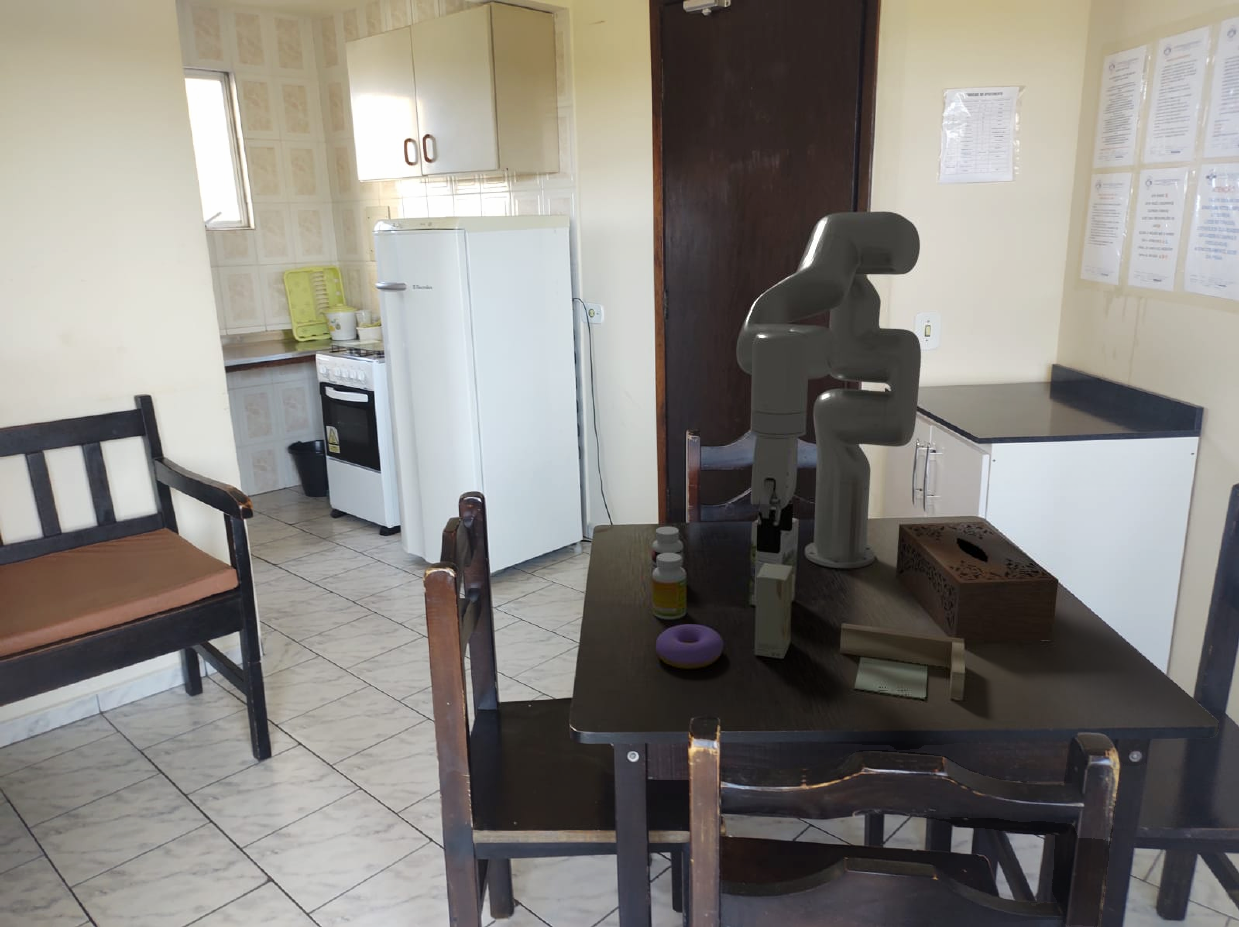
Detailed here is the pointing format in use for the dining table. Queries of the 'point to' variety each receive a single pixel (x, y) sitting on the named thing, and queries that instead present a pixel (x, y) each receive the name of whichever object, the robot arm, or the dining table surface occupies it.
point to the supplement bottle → (669, 587)
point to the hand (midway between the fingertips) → (774, 540)
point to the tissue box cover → (976, 583)
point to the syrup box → (774, 557)
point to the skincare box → (773, 610)
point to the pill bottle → (666, 544)
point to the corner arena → (902, 659)
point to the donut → (689, 646)
